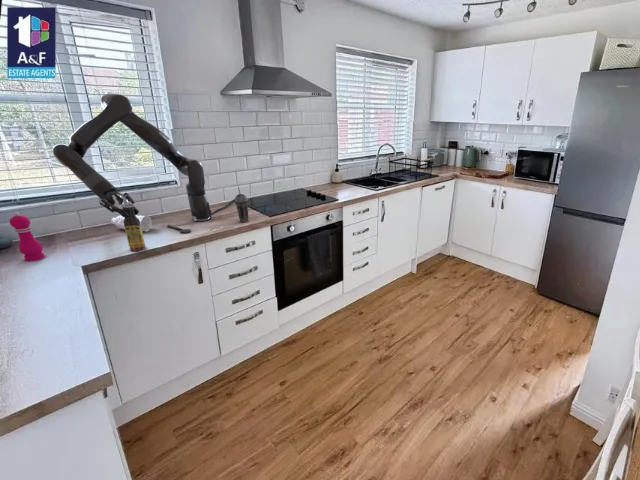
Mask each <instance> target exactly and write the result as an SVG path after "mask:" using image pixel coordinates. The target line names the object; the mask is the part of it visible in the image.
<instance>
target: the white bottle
mask: <svg viewBox="0 0 640 480" xmlns="http://www.w3.org/2000/svg"><path fill="white" fill-rule="evenodd" d="M135 216H136V217H137V218H138V219H139V221H140V225H141V229H142V232H149V231H150V230H151V229H152V227H153V224H152V223H153V221H152V218H151V217H150V216H148V215H138V214H137V215H135ZM124 219H125V218H124V217H123V216H121V215H117V216H116V217H111V219H110V223H111V224H112V225H114V226H115V227H116V228H120V229H122V230H123V231H125V226H124Z"/></svg>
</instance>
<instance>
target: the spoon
mask: <svg viewBox="0 0 640 480" xmlns="http://www.w3.org/2000/svg"><path fill="white" fill-rule="evenodd" d="M167 228H169V229H174V230H176V231H179V233H180V234H183V235H184V234H189V233H191V232H192V231H191V229H189V228H181V227H178V226H174V225H171V224H167Z"/></svg>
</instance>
